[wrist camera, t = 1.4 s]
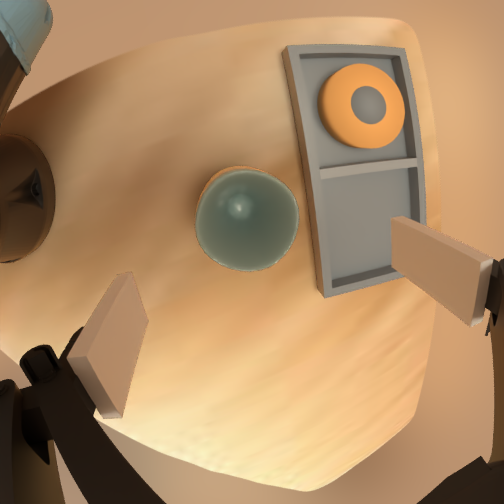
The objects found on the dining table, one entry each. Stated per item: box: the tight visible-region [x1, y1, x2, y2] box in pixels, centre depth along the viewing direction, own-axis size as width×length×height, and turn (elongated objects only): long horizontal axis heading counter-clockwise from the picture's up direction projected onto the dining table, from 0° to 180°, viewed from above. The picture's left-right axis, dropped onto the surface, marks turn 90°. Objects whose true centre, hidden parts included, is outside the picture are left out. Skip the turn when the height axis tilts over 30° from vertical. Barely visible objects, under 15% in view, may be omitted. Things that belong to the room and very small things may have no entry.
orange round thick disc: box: [317, 64, 405, 149], centre depth 28 cm, size 9×9×3 cm
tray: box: [282, 44, 426, 298], centre depth 31 cm, size 27×14×2 cm, turn 10°
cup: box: [194, 166, 299, 272], centre depth 27 cm, size 8×8×10 cm
